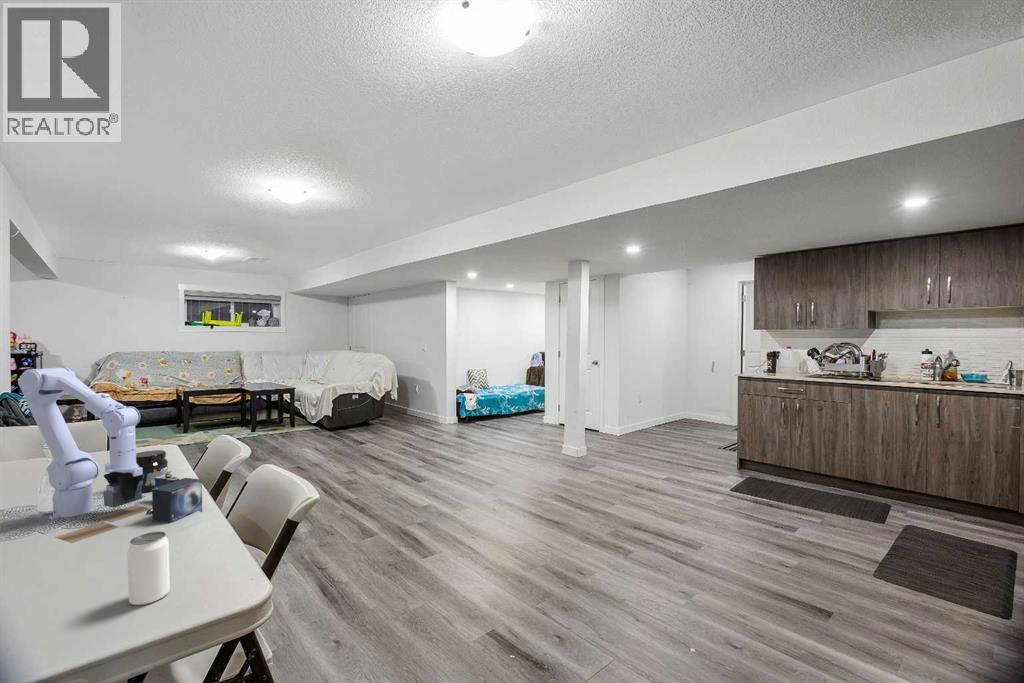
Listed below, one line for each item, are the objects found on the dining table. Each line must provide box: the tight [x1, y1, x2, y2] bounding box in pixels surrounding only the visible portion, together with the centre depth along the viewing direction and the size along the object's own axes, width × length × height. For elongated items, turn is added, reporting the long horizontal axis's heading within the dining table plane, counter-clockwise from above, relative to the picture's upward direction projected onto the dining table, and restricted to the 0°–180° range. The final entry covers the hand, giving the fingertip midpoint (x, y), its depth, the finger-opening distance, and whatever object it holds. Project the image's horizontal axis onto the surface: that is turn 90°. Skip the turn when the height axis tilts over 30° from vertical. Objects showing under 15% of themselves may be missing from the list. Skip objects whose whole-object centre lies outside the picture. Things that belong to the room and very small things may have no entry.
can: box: [127, 531, 171, 606], centre depth 92 cm, size 6×6×12 cm
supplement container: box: [136, 449, 169, 494], centre depth 157 cm, size 10×10×12 cm
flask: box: [154, 470, 180, 488], centre depth 141 cm, size 9×3×11 cm, turn 71°
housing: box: [103, 482, 143, 509], centre depth 131 cm, size 4×7×6 cm, turn 156°
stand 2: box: [95, 504, 152, 523], centre depth 132 cm, size 8×10×2 cm
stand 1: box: [54, 521, 120, 544], centre depth 119 cm, size 8×10×2 cm
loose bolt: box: [145, 508, 152, 516], centre depth 132 cm, size 6×3×3 cm, turn 86°
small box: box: [151, 477, 203, 524], centre depth 130 cm, size 11×6×10 cm, turn 168°
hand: (124, 497), depth 132 cm, fingers closed on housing, 4 cm apart
